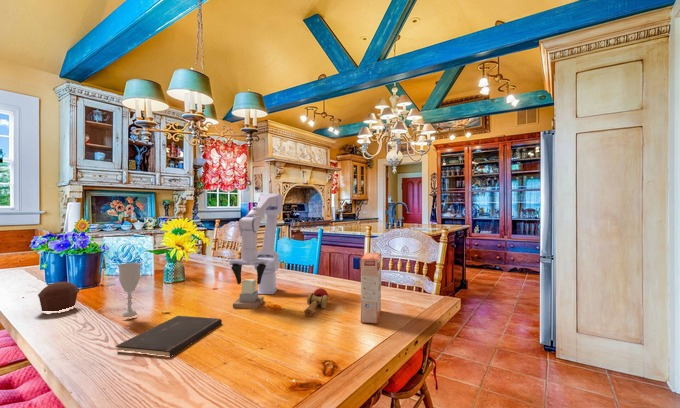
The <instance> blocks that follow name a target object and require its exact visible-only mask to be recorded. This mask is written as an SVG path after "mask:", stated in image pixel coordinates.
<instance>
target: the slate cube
mask: <svg viewBox="0 0 680 408" xmlns="http://www.w3.org/2000/svg"><path fill="white" fill-rule="evenodd" d="M258 297H259V294H258V289H256V291H255V292H254V293H253V294H242V291H241V292H240V293H239V298H240V302H255V301H256V300H257V299H258Z"/></svg>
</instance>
